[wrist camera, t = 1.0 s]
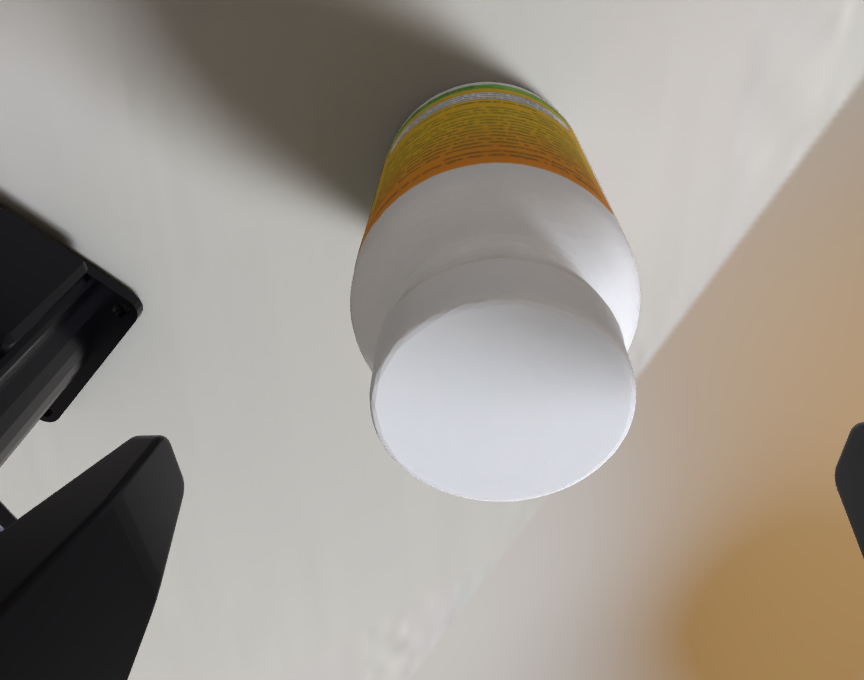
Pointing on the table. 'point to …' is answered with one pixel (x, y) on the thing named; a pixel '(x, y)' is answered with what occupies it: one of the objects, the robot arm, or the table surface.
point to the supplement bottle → (495, 300)
